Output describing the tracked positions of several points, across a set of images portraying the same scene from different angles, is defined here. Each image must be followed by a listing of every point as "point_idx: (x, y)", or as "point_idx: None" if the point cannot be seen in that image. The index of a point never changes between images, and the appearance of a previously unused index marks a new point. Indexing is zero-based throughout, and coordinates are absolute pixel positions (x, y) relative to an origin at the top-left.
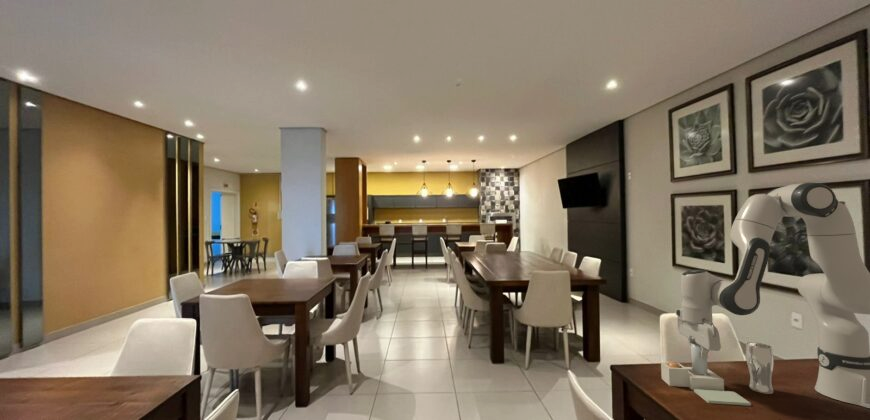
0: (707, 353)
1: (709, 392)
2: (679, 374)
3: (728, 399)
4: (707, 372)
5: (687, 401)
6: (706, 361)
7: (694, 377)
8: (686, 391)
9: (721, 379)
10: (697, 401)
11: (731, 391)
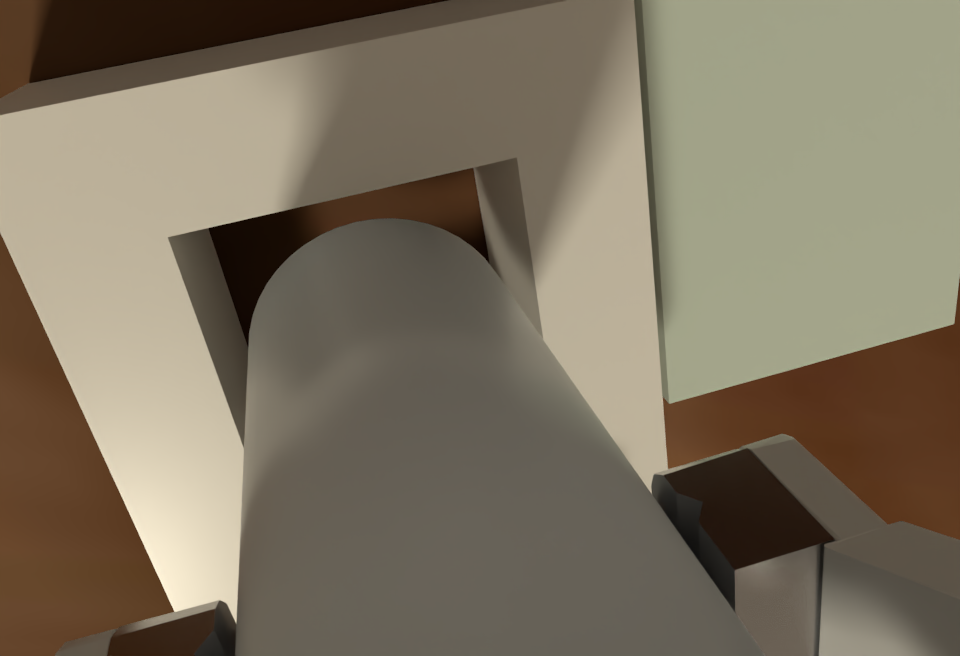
0: (922, 541)
1: (741, 248)
2: None
3: (920, 73)
4: (447, 233)
5: (904, 484)
6: (546, 356)
7: (651, 454)
8: (667, 461)
9: (634, 31)
10: (898, 401)
11: None
